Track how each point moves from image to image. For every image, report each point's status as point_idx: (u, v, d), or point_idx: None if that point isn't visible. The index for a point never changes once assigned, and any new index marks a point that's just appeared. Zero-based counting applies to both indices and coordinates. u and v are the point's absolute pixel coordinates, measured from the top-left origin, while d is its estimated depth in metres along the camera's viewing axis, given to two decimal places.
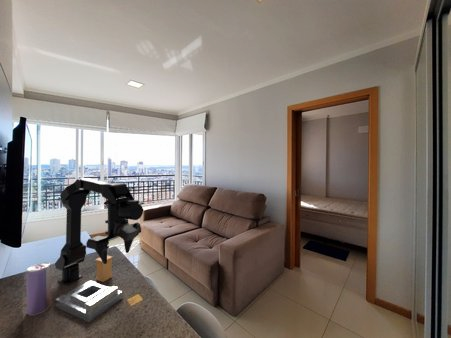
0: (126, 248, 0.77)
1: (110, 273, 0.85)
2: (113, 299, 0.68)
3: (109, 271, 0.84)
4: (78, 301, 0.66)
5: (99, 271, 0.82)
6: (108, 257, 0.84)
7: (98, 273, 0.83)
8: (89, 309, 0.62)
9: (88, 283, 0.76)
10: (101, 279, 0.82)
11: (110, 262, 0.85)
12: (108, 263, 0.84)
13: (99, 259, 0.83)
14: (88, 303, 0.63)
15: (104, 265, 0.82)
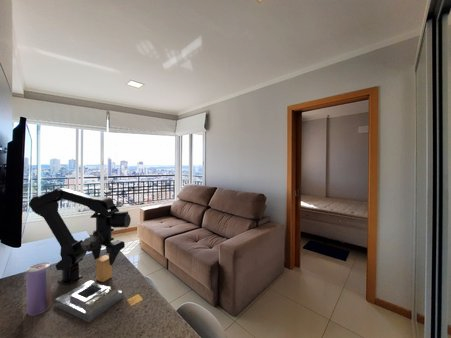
0: None
1: (110, 273, 0.85)
2: (113, 299, 0.68)
3: (109, 271, 0.84)
4: (78, 301, 0.66)
5: (99, 271, 0.82)
6: (108, 257, 0.85)
7: (98, 273, 0.83)
8: (89, 309, 0.62)
9: (88, 283, 0.76)
10: (101, 279, 0.82)
11: None
12: (108, 263, 0.84)
13: (99, 259, 0.83)
14: (88, 303, 0.63)
15: (104, 265, 0.82)
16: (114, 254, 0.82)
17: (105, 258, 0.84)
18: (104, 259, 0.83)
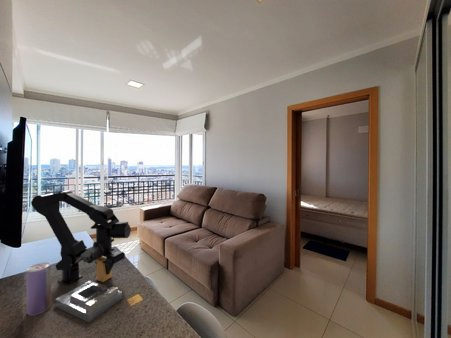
0: None
1: (110, 273, 0.85)
2: (113, 299, 0.68)
3: None
4: (78, 301, 0.66)
5: (99, 271, 0.82)
6: None
7: (98, 273, 0.83)
8: (89, 309, 0.62)
9: (88, 283, 0.76)
10: (101, 279, 0.82)
11: None
12: None
13: (99, 259, 0.83)
14: (88, 303, 0.63)
15: (104, 265, 0.82)
16: (110, 264, 0.83)
17: (105, 258, 0.84)
18: (104, 259, 0.83)
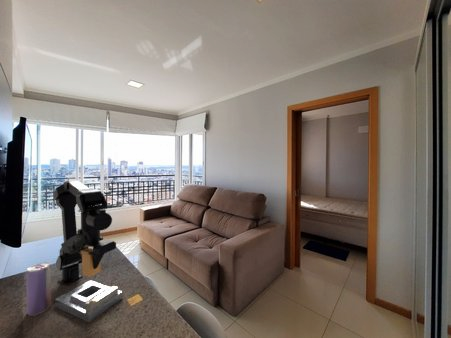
0: None
1: (99, 267, 0.71)
2: (113, 299, 0.68)
3: None
4: (78, 301, 0.66)
5: (85, 264, 0.68)
6: None
7: (84, 267, 0.69)
8: (89, 309, 0.62)
9: (88, 283, 0.76)
10: (87, 274, 0.68)
11: None
12: None
13: (85, 250, 0.69)
14: (88, 303, 0.63)
15: (91, 257, 0.68)
16: (99, 255, 0.69)
17: (92, 248, 0.70)
18: (91, 250, 0.69)
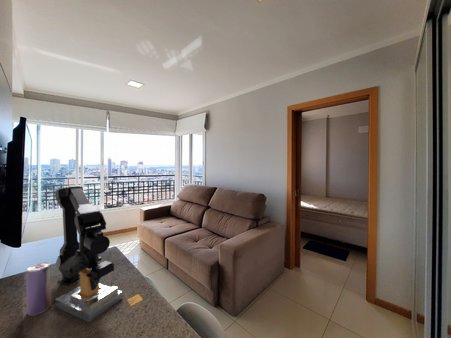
0: None
1: (97, 288, 0.70)
2: (113, 299, 0.68)
3: None
4: (78, 301, 0.66)
5: (83, 286, 0.68)
6: None
7: (82, 288, 0.68)
8: (89, 309, 0.62)
9: None
10: (85, 295, 0.67)
11: None
12: None
13: (83, 271, 0.68)
14: (88, 303, 0.63)
15: (89, 278, 0.68)
16: None
17: (90, 269, 0.69)
18: (89, 271, 0.68)
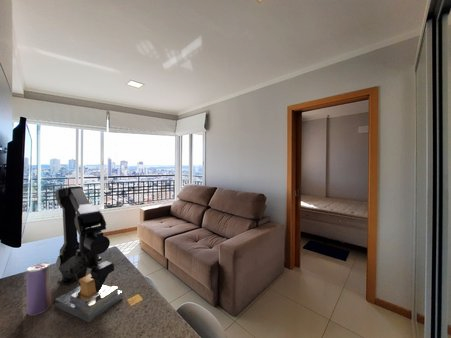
0: None
1: None
2: (113, 299, 0.68)
3: None
4: (78, 301, 0.66)
5: (83, 294, 0.68)
6: None
7: (82, 296, 0.68)
8: (89, 309, 0.62)
9: None
10: None
11: None
12: (94, 284, 0.69)
13: (83, 279, 0.68)
14: (88, 303, 0.63)
15: (89, 287, 0.68)
16: (101, 279, 0.68)
17: None
18: (89, 279, 0.68)
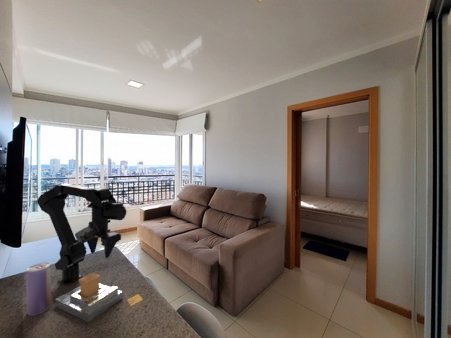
0: None
1: None
2: (113, 299, 0.68)
3: None
4: (78, 301, 0.66)
5: (83, 294, 0.68)
6: (95, 276, 0.70)
7: (82, 296, 0.68)
8: (89, 309, 0.62)
9: None
10: None
11: (97, 282, 0.70)
12: (94, 284, 0.69)
13: (83, 279, 0.68)
14: (88, 303, 0.63)
15: (89, 287, 0.68)
16: (110, 246, 0.78)
17: (91, 277, 0.69)
18: (89, 279, 0.68)
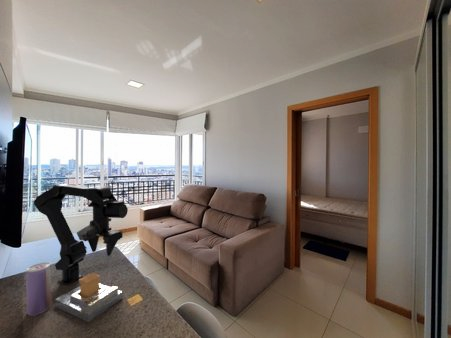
0: None
1: None
2: (113, 299, 0.68)
3: None
4: (78, 301, 0.66)
5: (83, 294, 0.68)
6: (95, 276, 0.70)
7: (82, 296, 0.68)
8: (89, 309, 0.62)
9: None
10: None
11: (97, 282, 0.70)
12: (94, 284, 0.69)
13: (83, 279, 0.68)
14: (88, 303, 0.63)
15: (89, 287, 0.68)
16: (112, 244, 0.80)
17: (91, 277, 0.69)
18: (89, 279, 0.68)
